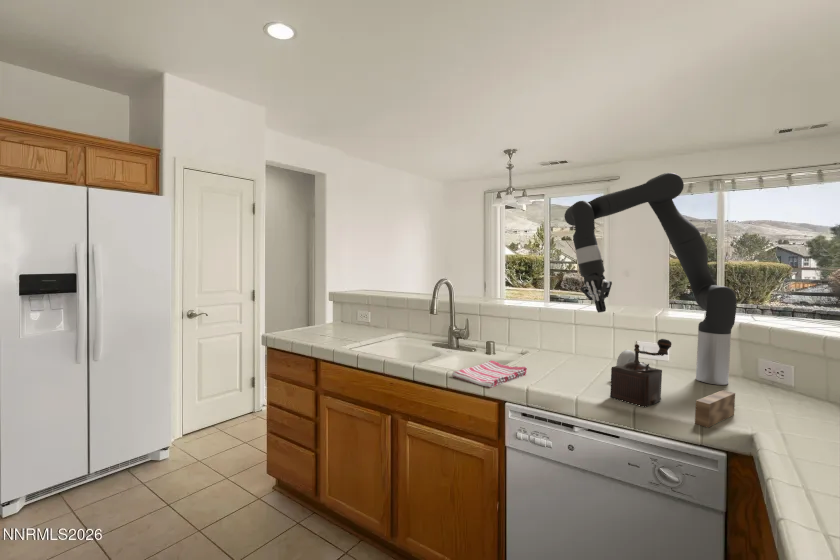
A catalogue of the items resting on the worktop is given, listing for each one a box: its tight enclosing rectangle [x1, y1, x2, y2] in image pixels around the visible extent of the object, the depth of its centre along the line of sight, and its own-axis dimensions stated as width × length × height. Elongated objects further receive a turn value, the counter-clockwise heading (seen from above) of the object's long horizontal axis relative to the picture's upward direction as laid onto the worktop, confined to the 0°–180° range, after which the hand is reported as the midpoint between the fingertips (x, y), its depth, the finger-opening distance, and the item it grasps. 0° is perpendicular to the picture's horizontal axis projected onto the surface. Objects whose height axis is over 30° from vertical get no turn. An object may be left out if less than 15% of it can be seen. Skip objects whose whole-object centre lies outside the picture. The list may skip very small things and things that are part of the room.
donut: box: [615, 349, 635, 366], centre depth 145 cm, size 10×4×10 cm, turn 124°
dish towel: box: [451, 360, 528, 389], centre depth 146 cm, size 17×23×4 cm
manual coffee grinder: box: [609, 338, 672, 408], centre depth 124 cm, size 16×11×18 cm
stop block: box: [694, 389, 736, 428], centre depth 108 cm, size 16×3×6 cm, turn 124°
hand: (601, 311), depth 136 cm, fingers closed
